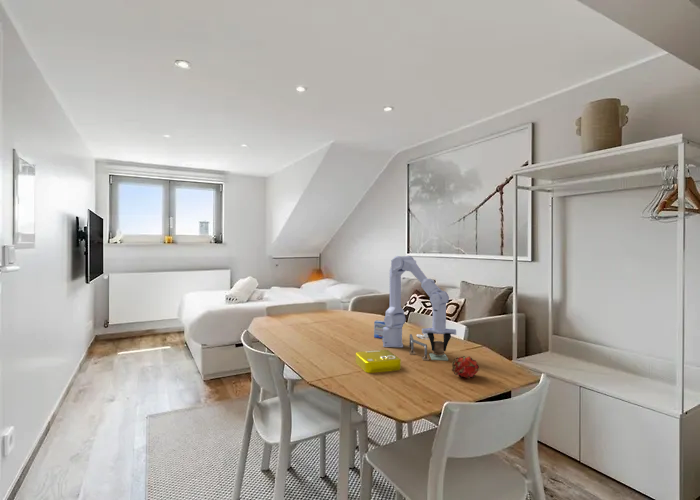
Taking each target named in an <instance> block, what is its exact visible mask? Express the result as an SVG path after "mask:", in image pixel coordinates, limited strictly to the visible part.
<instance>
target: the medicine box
mask: <svg viewBox="0 0 700 500" xmlns="http://www.w3.org/2000/svg"><path fill="white" fill-rule="evenodd" d="M383 327H386V325H385V323H384V320H381V319H380V320H379V319H376V320H374V323H373V338H374V339H383Z"/></svg>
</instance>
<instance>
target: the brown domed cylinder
mask: <svg viewBox="0 0 700 500" xmlns="http://www.w3.org/2000/svg"><path fill="white" fill-rule="evenodd" d="M432 353H433V354H435V355H444V354H445V355H446V353H445V351H444V341H441V340H434V351H432Z"/></svg>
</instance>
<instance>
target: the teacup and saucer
mask: <svg viewBox="0 0 700 500" xmlns="http://www.w3.org/2000/svg"><path fill="white" fill-rule="evenodd" d="M416 337H417V338H420V339H422V340H424V339H429V337H428V334H427V333H425V334H421V333H420V334H418V333H417V334H416Z"/></svg>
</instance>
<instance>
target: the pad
mask: <svg viewBox="0 0 700 500" xmlns="http://www.w3.org/2000/svg"><path fill="white" fill-rule="evenodd" d="M428 354H429V357H430V359H431V361H449V358H448V356H447V355H446V353H445V354H444V355H435V354H433V352H430V353H428Z"/></svg>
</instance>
